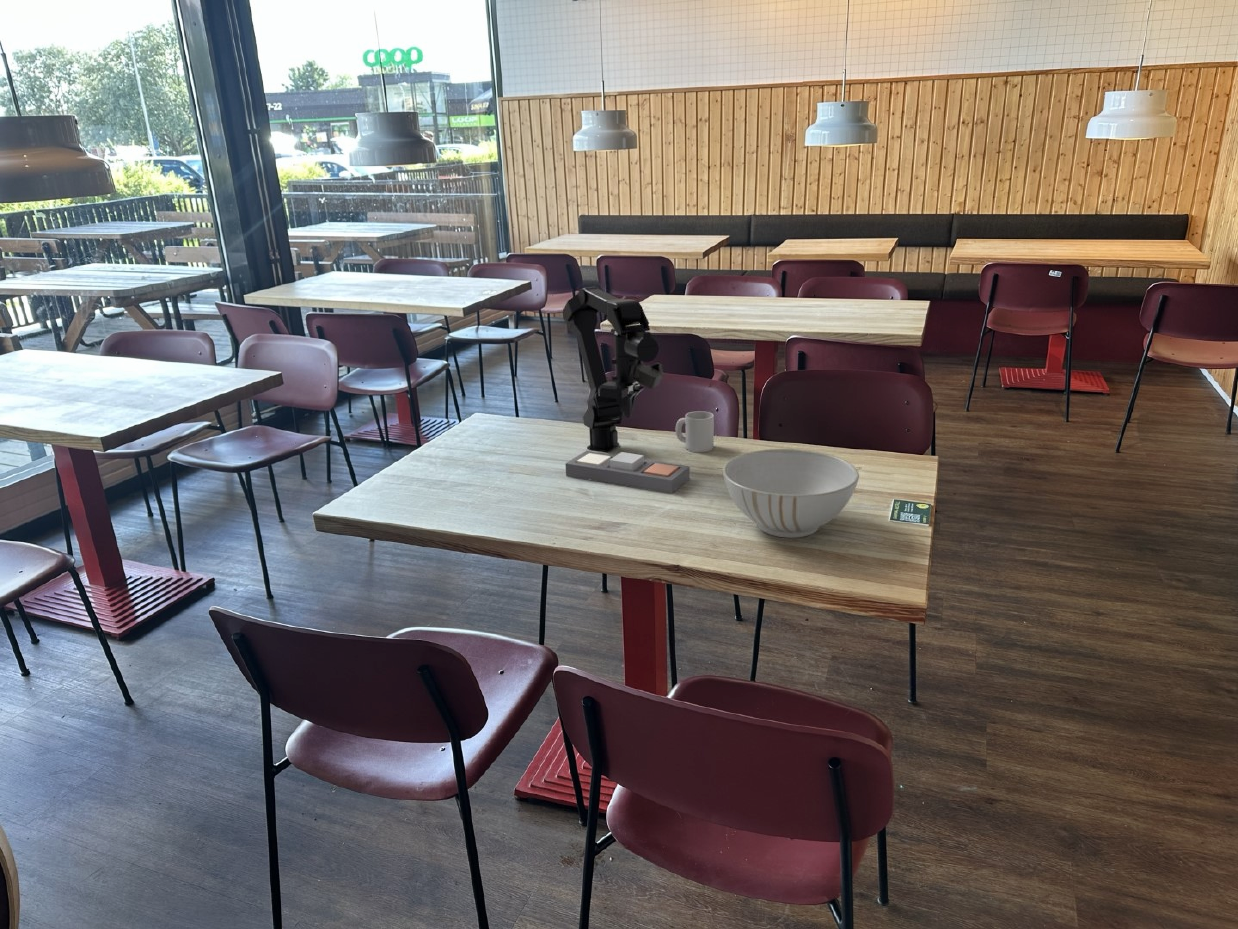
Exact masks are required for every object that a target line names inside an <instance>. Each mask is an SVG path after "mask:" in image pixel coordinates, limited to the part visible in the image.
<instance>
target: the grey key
mask: <svg viewBox="0 0 1238 929" xmlns="http://www.w3.org/2000/svg"><path fill="white" fill-rule="evenodd" d="M615 455H616V456H615V457H613V458H612V459H610V460H609V461H610V468H613V469H620V470H626V471H632V472H635V471H636V470H637V469H639V468H640V467H642V466H643V465H644V459H645V458H644V457H645V455H644V454H643V455H642V454H636V453H630V452H623V451H621V452H619V453H618V454H615Z"/></svg>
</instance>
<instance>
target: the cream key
mask: <svg viewBox="0 0 1238 929" xmlns="http://www.w3.org/2000/svg"><path fill="white" fill-rule="evenodd" d="M610 459H611V456H605V455H598V454H592V453H589V454H587V455H585V456H584V457H582V458H581V459H579V460H577V463H582V464H588V465H594V466H602V465H603V464H605V463H606V462H608V461H609V460H610Z"/></svg>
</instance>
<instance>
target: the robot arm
mask: <svg viewBox="0 0 1238 929" xmlns="http://www.w3.org/2000/svg"><path fill="white" fill-rule="evenodd" d="M599 313H602V314H603V315H606V316H607V321H608V323H610V325H611V326H612V328H611V329H610V333H612V334H613V339H614V342H613V343H614V344H613V345H614V358H612V359H611V364H613V365H614V367H615V374H614V375H613V376H612V377H611V380H612V381H608V379H607V374H606V371H605V370H606V369H605V366H604V361H603V359H602V355H601V351H600V348H599V343H598V340H597V336H596V328H597V325H598V322H599V319H598V315H599ZM562 317H563V320H564V321H565V323H566V326H567V329H568V331H570V333H571V334H572V335H573V336H574V337H575V338H576V339H577V344H578V347H579V351H580V355H581V358H582V363H583V367H584V371H585V375H586V379H587V381H588V382H587V383H588V386H589V390H590V392H589V395H588V398H587V402H586V403H587V410H586V411H585V413H584V415H583V416H582V420H583V424H584V426H585V427H587V428H589V445H588V446H586V449H587V450H593V449H594V450H593V451H598V452H605V453H608V452H610V451H612V450H614V449H615V448H617V447H618V446H620V442H619V441H618V438H619V437H618V434H619V433H618V432H619V431H618V430H617V428H616V426H617V425H621V424H622V418H623V414H624V416H625V418H631V417H632V415H633V410H634V408H635V403H636V400H637V398H638V395H639V393H640V392H642V391H643V390H645V387H646V388H647V389H651V390H652V389H654V388H655V387H658V386H659V385H660V383H661V379H662V378H664V376H665V375H664V370H663V364H661V363H659V362H655V363H653V365H650V364H648V365H646V364H644V363H650V362H653V361H654V360H655V359H656V358H657V356H658V355H659V354H658V353H659V350H660V349H659V345H658V342H657V341H656V339H655V338H653V337H651V335H652V334H651V331H650V329H651V328H650V325H649V324H650V322H649V320H648V318H647V316H646V314H645V311H644V309H643V306H642V305H641V303H640V302H639V300H637V299H631V298H629V299H628V298H627V299H626V298H618V297H616V296H614V295H612V294H610V293H608V292H607V291H604V290H602V289H601V287H597V286H589V287H582V288H581V289H579V290H578V292H577V294H576V295H574V296H572V298H569V300H567V301H566V304H565V305H564V307H563V309H562ZM640 384H641V385H643V386H640ZM613 448H614V449H613Z"/></svg>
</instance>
